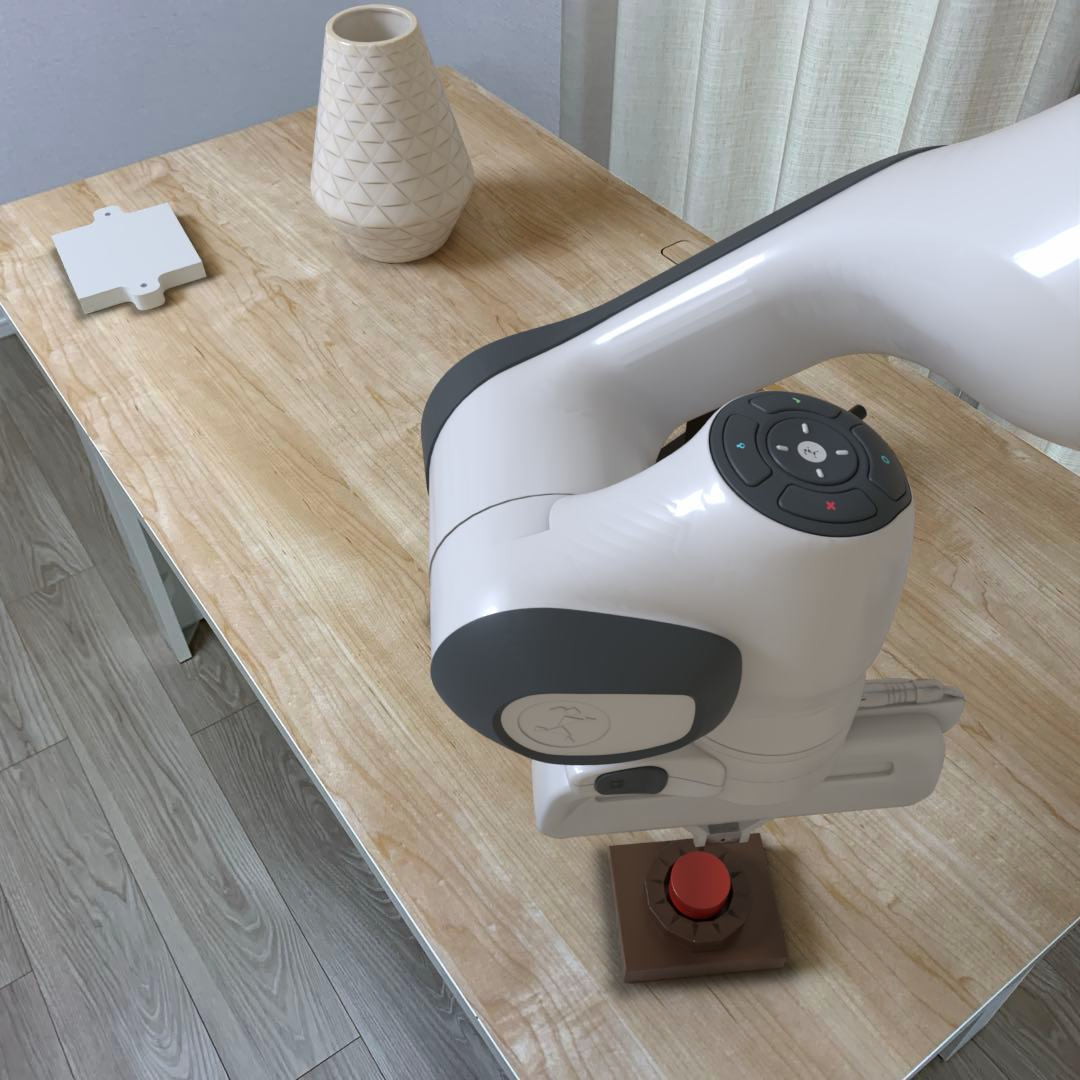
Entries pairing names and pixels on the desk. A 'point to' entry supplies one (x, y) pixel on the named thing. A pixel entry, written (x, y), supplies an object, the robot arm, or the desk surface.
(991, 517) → the desk surface
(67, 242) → the mounting plate
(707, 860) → the light button
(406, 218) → the vase
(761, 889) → the button box
